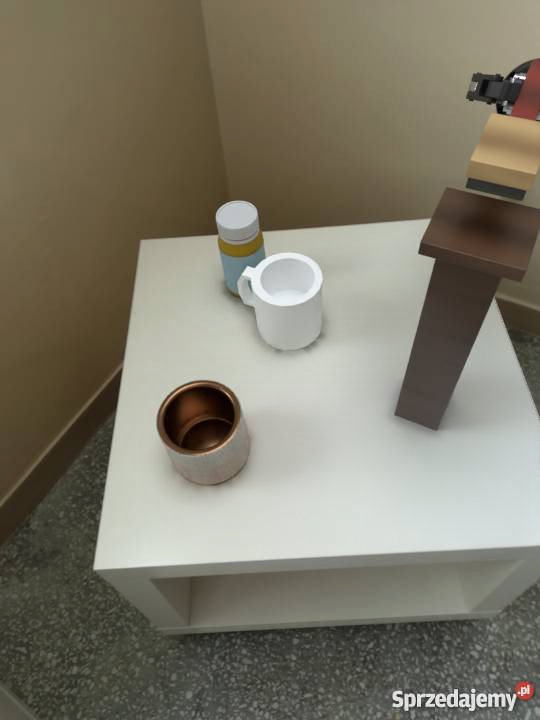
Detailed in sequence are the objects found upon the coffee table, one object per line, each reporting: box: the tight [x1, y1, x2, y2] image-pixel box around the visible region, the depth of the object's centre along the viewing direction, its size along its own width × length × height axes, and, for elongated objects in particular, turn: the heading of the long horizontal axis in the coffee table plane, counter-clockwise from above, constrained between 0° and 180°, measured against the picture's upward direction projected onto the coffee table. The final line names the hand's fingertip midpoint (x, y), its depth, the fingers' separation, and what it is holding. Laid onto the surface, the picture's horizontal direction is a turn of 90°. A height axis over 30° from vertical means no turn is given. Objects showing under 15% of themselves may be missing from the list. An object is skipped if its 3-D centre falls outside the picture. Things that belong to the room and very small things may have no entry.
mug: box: [237, 252, 324, 351], centre depth 80 cm, size 14×10×11 cm
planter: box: [155, 379, 251, 486], centre depth 69 cm, size 11×11×10 cm
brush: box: [465, 58, 540, 202], centre depth 47 cm, size 19×5×3 cm, turn 154°
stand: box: [394, 186, 540, 431], centre depth 61 cm, size 8×9×33 cm
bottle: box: [215, 200, 267, 298], centre depth 83 cm, size 7×7×15 cm
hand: (531, 95), depth 47 cm, fingers closed on brush, 2 cm apart
